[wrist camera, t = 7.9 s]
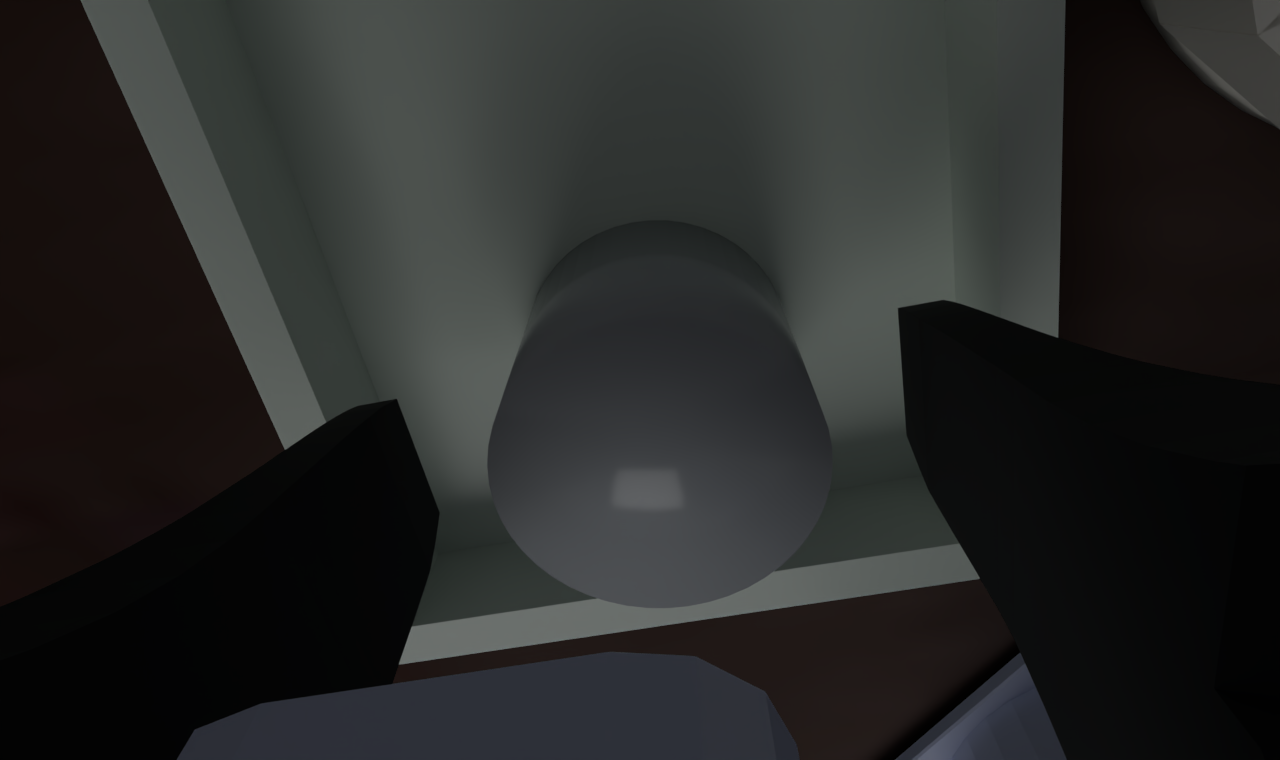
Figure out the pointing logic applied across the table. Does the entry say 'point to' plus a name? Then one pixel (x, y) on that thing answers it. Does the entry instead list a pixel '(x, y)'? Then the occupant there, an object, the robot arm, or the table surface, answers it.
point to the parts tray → (601, 225)
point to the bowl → (1227, 48)
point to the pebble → (659, 422)
